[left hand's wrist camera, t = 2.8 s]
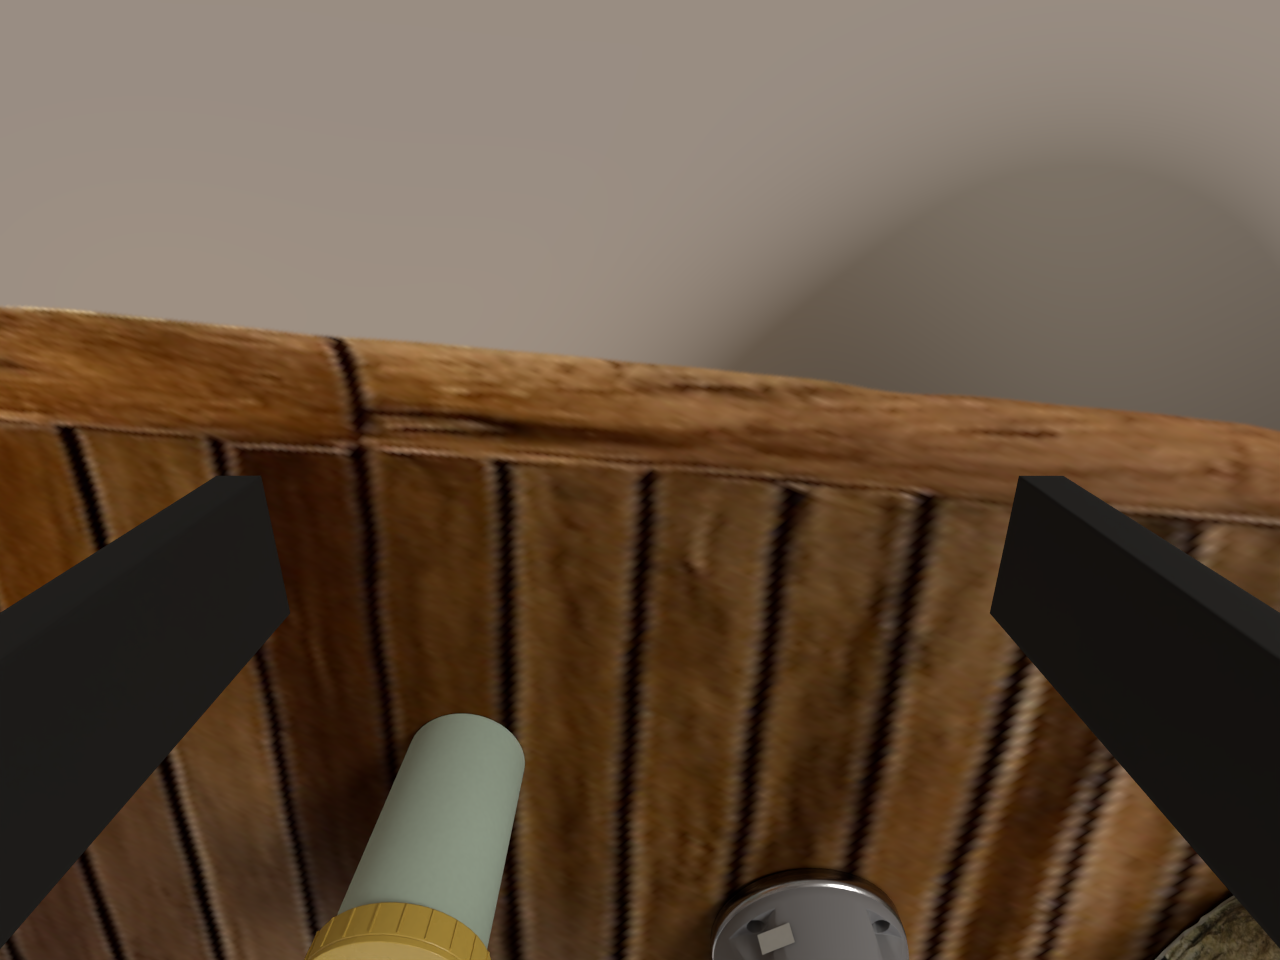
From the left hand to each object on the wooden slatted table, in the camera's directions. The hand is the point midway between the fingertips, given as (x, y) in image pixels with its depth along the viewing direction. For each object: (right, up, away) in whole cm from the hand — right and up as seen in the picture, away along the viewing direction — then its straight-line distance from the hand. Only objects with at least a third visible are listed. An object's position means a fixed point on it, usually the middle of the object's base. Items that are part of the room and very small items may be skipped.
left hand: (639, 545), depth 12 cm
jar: (-12, -19, +37) cm, 44 cm away
